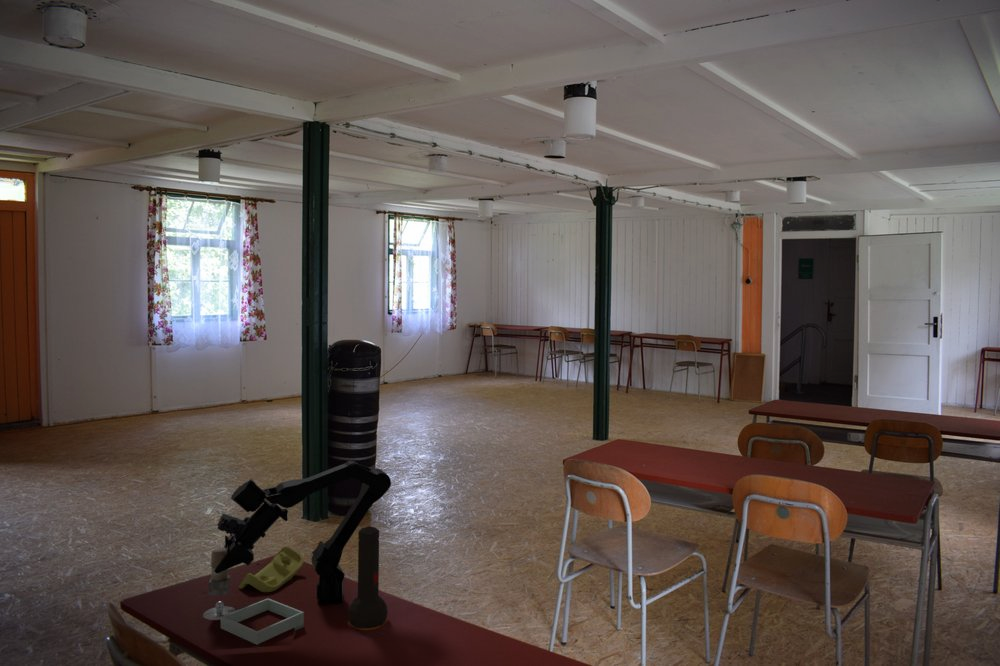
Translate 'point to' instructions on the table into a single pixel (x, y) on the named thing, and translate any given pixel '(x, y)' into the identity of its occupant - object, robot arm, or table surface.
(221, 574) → the strut
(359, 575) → the flashlight
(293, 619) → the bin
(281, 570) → the plastic component
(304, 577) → the table surface
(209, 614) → the stud mount
